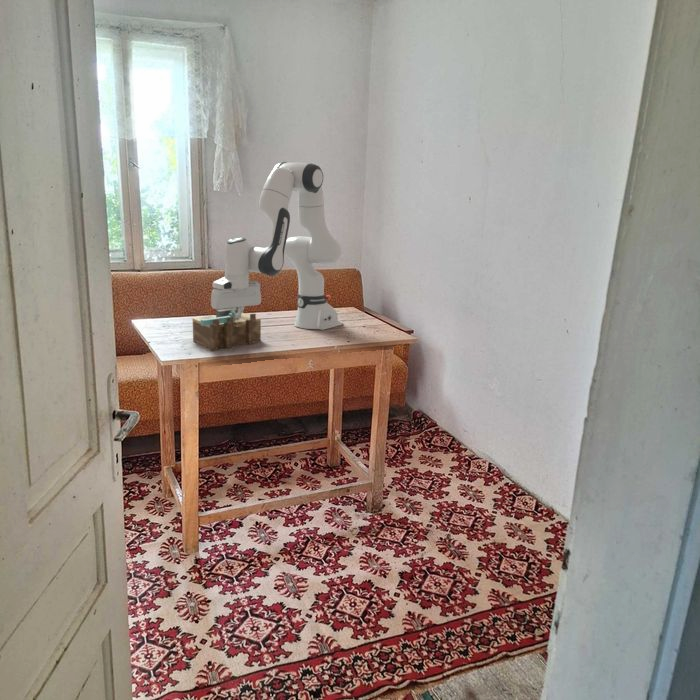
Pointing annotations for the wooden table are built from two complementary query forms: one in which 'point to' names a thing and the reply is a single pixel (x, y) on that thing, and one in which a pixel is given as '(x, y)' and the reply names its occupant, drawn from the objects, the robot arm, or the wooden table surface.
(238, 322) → the lid
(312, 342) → the wooden table surface
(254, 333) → the wooden crate
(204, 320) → the bar
